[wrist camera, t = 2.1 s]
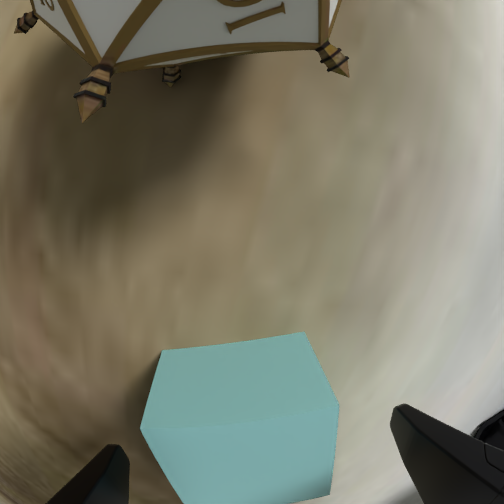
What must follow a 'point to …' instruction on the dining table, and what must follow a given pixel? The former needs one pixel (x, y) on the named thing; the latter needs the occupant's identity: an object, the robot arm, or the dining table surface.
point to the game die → (180, 34)
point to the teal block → (243, 422)
